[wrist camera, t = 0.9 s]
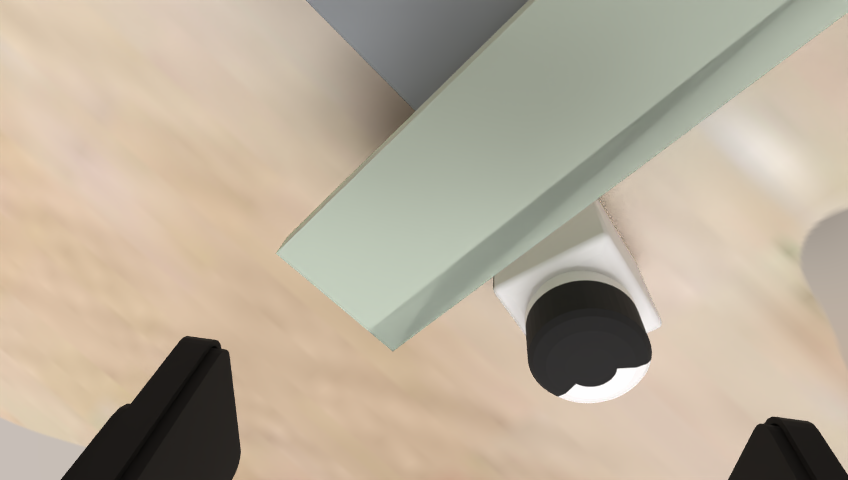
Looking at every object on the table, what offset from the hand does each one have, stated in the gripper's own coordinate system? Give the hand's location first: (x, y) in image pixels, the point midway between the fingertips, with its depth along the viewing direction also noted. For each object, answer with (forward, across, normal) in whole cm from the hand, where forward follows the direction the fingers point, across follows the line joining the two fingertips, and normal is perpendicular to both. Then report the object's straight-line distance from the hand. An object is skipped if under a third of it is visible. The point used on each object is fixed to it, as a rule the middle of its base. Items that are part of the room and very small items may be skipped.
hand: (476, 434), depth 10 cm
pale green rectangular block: (+26, -1, -2) cm, 27 cm away
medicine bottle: (+27, -6, +10) cm, 29 cm away
